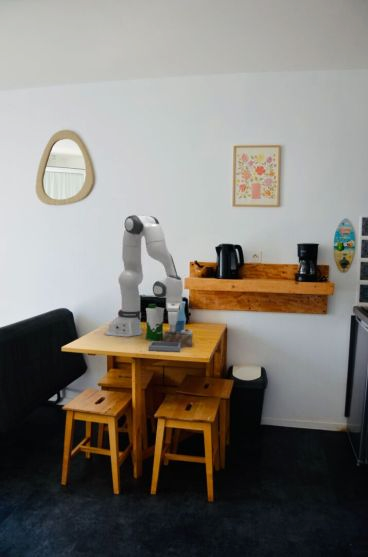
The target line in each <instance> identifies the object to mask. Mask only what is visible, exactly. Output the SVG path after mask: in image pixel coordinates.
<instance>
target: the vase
mask: <svg viewBox="0 0 368 557" xmlns="http://www.w3.org/2000/svg"><path fill="white" fill-rule="evenodd" d="M185 307H186V301H185V300H184V301H183V300H182V309H180V312H178V319H177V323H176V332H181V330H185V328H186V327H185V326H186V321H187V317H186V313H185ZM169 332H171V325H169Z"/></svg>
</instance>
